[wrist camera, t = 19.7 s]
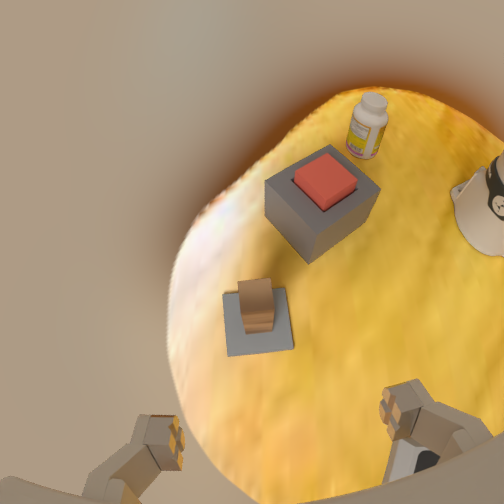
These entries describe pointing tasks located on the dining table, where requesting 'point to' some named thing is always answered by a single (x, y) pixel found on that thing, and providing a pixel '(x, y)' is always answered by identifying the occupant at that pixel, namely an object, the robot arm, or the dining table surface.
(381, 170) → the dining table surface
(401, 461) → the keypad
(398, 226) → the dining table surface
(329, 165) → the button
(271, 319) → the brown wooden block
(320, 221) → the gray socket block
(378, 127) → the supplement bottle
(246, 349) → the pad
